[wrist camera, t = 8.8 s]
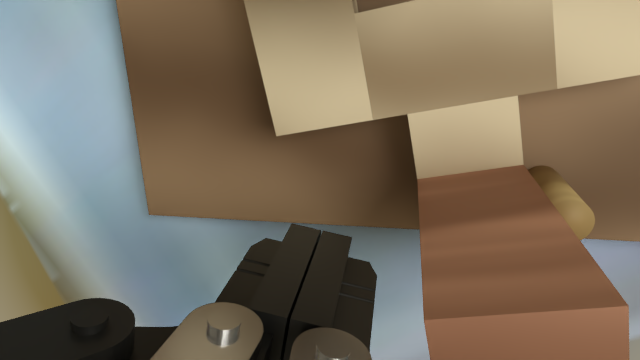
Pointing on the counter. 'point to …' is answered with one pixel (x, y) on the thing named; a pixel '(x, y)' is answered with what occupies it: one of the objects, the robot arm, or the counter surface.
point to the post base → (341, 136)
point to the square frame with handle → (466, 151)
